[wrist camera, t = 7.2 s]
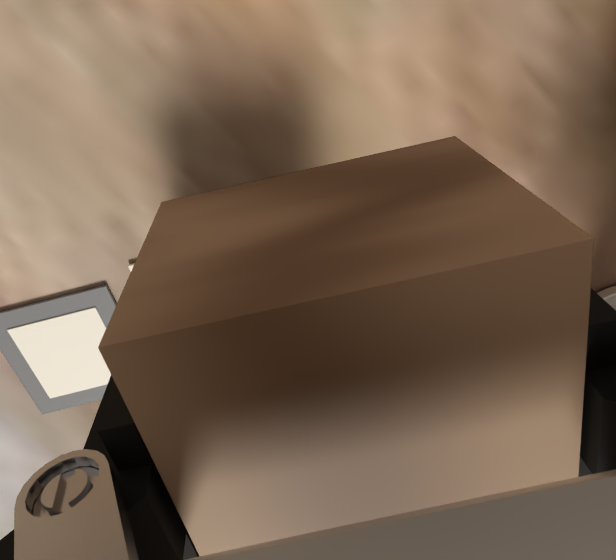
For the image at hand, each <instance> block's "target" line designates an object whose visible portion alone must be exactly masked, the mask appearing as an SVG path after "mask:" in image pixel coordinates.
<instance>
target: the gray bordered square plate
mask: <svg viewBox="0 0 616 560" xmlns="http://www.w3.org/2000/svg"><path fill="white" fill-rule="evenodd" d="M116 305H117V304H116V302H115V300H114V297H113V295H112V293H111V291H110V289H109V287H108V285H107V284H106V285H102V286H98V287H95V288H91V289H87V290H83V291H79V292H75V293H71V294H67V295H63V296H59V297H56V298H52V299H48V300H44V301H40V302H36V303H32V304H28V305H24V306H21V307H17V308H13V309H9V310H5V311H1V312H0V350H1V352H2V353H3V355H4V357H5V358H6V360H7V361H8V363H9V364H10V366H11V367H12V369H13V370H14V372H15V373H16V375H17V377H18V378H19V380H20V381H21V383H22V384H23V386H24V387H25V389H26V390H27V392H28V393H29V395H30V396H31V398H32V400H33V401H34V403H35V404H36V406H37V407H38V409H39V410H40V412H41V413H42V414H46V413H50V412H54V411H58V410H62V409H66V408H70V407H74V406H78V405H82V404H86V403H90V402H94V401H98V400H102V398H103V395H104V393H105V390H106V387H107V385H108V382H109V379H110V376H111V373H110V371H109V369H108V367H107V365H106V363H105V361H104V359H103V357H102V355H101V353H100V351H99V349H98V346H99V344H100V342H101V339H102V337H103V335H104V333H105V330H106V328H107V326H108V323H109V321H110V319H111V317H112V314H113V312H114V310H115V307H116Z"/></svg>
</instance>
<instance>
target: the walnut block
mask: <svg viewBox="0 0 616 560" xmlns="http://www.w3.org/2000/svg"><path fill="white" fill-rule="evenodd" d="M593 246H594V238H592V237H591V236H590V235H588V234H587V233H586V232H584V231H583V230H582V229H580V228H579V227H578V226H576V225H575V224H573V223H572V222H571V221H569V220H568V219H567V218H565V217H564V216H563V215H561V214H560V213H559V212H557V211H556V210H554V209H553V208H552V207H550V206H549V205H548V204H546V203H545V202H544V201H542V200H541V199H540V198H538V197H537V196H535V195H534V194H533V193H531V192H530V191H529V190H527V189H526V188H525V187H523V186H522V185H521V184H519V183H518V182H516V181H515V180H514V179H512V178H511V177H510V176H508V175H507V174H506V173H504V172H503V171H502V170H500V169H499V168H497V167H496V166H495V165H493V164H492V163H491V162H489V161H488V160H487V159H485V158H484V157H483V156H481V155H480V154H478V153H477V152H476V151H474V150H473V149H472V148H470V147H469V146H468V145H466V144H465V143H464V142H462V141H461V140H459V139H458V138H457V137H455V136H453V137H449V138H445V139H440V140H436V141H431V142H427V143H422V144H418V145H413V146H409V147H404V148H400V149H396V150H391V151H387V152H382V153H378V154H373V155H369V156H364V157H360V158H355V159H351V160H347V161H342V162H338V163H333V164H329V165H324V166H320V167H315V168H311V169H306V170H302V171H298V172H293V173H289V174H284V175H280V176H275V177H271V178H266V179H262V180H257V181H253V182H249V183H244V184H240V185H235V186H231V187H226V188H222V189H217V190H213V191H208V192H204V193H200V194H195V195H191V196H186V197H182V198H177V199H173V200H168V201H164V202H161V205H160V207H159V209H158V212H157V214H156V216H155V218H154V221H153V223H152V225H151V228H150V230H149V232H148V234H147V237H146V239H145V241H144V244H143V246H142V248H141V250H140V253H139V255H138V257H137V260H136V262H135V264H134V266H133V269H132V271H131V273H130V275H129V278H128V280H127V282H126V285H125V287H124V289H123V291H122V294H121V296H120V298H119V301H118V303H117V305H116V307H115V310H114V312H113V314H112V317H111V319H110V321H109V323H108V326H107V328H106V330H105V333H104V335H103V337H102V339H101V342H100V344H99V346H98V349H99V351H100V353H101V355H102V357H103V359H104V361H105V363H106V365H107V367H108V369H109V371H110V373H111V375H112V377H113V379H114V381H115V383H116V385H117V388H118V390H119V392H120V394H121V396H122V398H123V400H124V402H125V404H126V406H127V408H128V410H129V412H130V414H131V416H132V418H133V420H134V422H135V424H136V427H137V429H138V431H139V433H140V435H141V437H142V439H143V441H144V443H145V445H146V447H147V449H148V451H149V453H150V455H151V457H152V459H153V461H154V463H155V466H156V468H157V470H158V472H159V474H160V476H161V478H162V480H163V482H164V484H165V486H166V488H167V490H168V492H169V494H170V496H171V498H172V500H173V502H174V505H175V507H176V509H177V511H178V513H179V515H180V517H181V519H182V521H183V523H184V525H185V527H186V529H187V531H188V533H189V535H190V537H191V539H192V541H193V544H194V546H195V548H196V550H197V552H198V554H199V556H204V555H209V554H213V553H218V552H222V551H227V550H232V549H236V548H241V547H246V546H250V545H255V544H260V543H264V542H269V541H274V540H278V539H283V538H287V537H292V536H297V535H301V534H306V533H311V532H316V531H320V530H325V529H330V528H335V527H339V526H344V525H349V524H354V523H358V522H363V521H368V520H373V519H377V518H382V517H387V516H392V515H396V514H401V513H406V512H411V511H415V510H420V509H425V508H430V507H435V506H439V505H444V504H449V503H454V502H459V501H463V500H468V499H473V498H478V497H483V496H487V495H492V494H497V493H502V492H507V491H512V490H517V489H522V488H527V487H531V486H536V485H541V484H546V483H551V482H556V481H561V480H566V479H571V478H576V477H578V475H579V459H580V444H581V429H582V414H583V398H584V383H585V368H586V353H587V337H588V322H589V307H590V292H591V276H592V261H593Z"/></svg>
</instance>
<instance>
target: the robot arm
mask: <svg viewBox="0 0 616 560" xmlns="http://www.w3.org/2000/svg"><path fill="white" fill-rule="evenodd" d="M0 560H616V286H613V287H610V288H607V289H605V290H602V291H600V292H597V293H596V292H595V291H594V290H593V289H591V292H590V307H589V322H588V337H587V353H586V368H585V383H584V398H583V414H582V429H581V444H580V459H579V475H578V477H576V478H571V479H566V480H561V481H556V482H551V483H546V484H541V485H536V486H531V487H527V488H522V489H517V490H512V491H507V492H502V493H497V494H492V495H487V496H483V497H478V498H473V499H468V500H463V501H459V502H454V503H449V504H444V505H439V506H435V507H430V508H425V509H420V510H415V511H411V512H406V513H401V514H396V515H392V516H387V517H382V518H377V519H373V520H368V521H363V522H358V523H354V524H349V525H344V526H339V527H335V528H330V529H325V530H320V531H316V532H311V533H306V534H301V535H297V536H292V537H287V538H283V539H278V540H274V541H269V542H264V543H260V544H255V545H250V546H246V547H241V548H236V549H232V550H227V551H222V552H218V553H213V554H209V555H204V556H199V554H198V552H197V550H196V548H195V546H194V544H193V541H192V539H191V537H190V535H189V533H188V531H187V529H186V527H185V525H184V523H183V521H182V519H181V517H180V515H179V513H178V511H177V509H176V507H175V505H174V502H173V500H172V498H171V496H170V494H169V492H168V490H167V488H166V486H165V484H164V482H163V480H162V478H161V476H160V474H159V472H158V470H157V468H156V466H155V463H154V461H153V459H152V457H151V455H150V453H149V451H148V449H147V447H146V445H145V443H144V441H143V439H142V437H141V435H140V433H139V431H138V429H137V427H136V424H135V422H134V420H133V418H132V416H131V414H130V412H129V410H128V408H127V406H126V404H125V402H124V400H123V398H122V396H121V394H120V392H119V390H118V388H117V385H116V383H115V381H114V379H113V377H112V375H111V376H110V379H109V382H108V385H107V387H106V390H105V393H104V395H103V398H102V401H101V403H100V406H99V409H98V411H97V414H96V417H95V420H94V422H93V425H92V428H91V430H90V433H89V436H88V438H87V441H86V444H85V446H84V449H83V450H77V451H72V452H69V453H67V454H64V455H61V456H59V457H57V458H55V459H54V460H52V461H50V462H48V463H47V464H45V465H44V466H43V467H42V468H40V469H39V470H38V471H37V472H35V473H34V474H33V475H32V476H31V478H30V479H29V480H28V481H27V482H26V483H25V484H24V486H23V487H22V489H21V491H20V493H19V495H18V496H17V500H16V504H15V514H14V530H13V531H11V532H10V533H9V534H8V535H6V536H5V537H4V538H3V539H1V540H0Z"/></svg>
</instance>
